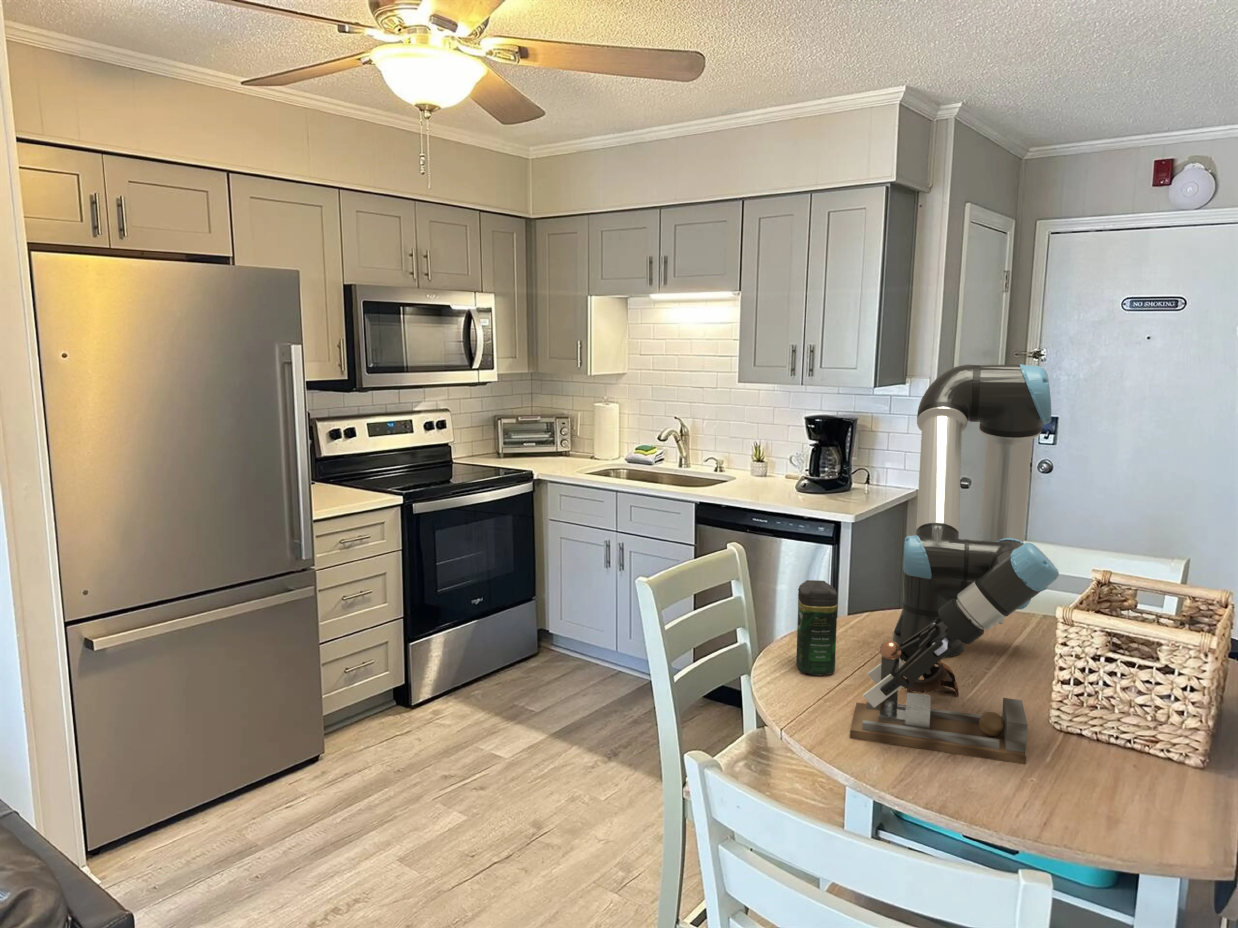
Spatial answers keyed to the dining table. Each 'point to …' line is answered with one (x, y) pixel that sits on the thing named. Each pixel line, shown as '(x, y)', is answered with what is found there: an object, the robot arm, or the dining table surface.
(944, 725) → the press base
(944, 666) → the brown curved piece
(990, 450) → the robot arm
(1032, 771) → the dining table surface
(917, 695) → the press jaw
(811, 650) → the coffee jar
